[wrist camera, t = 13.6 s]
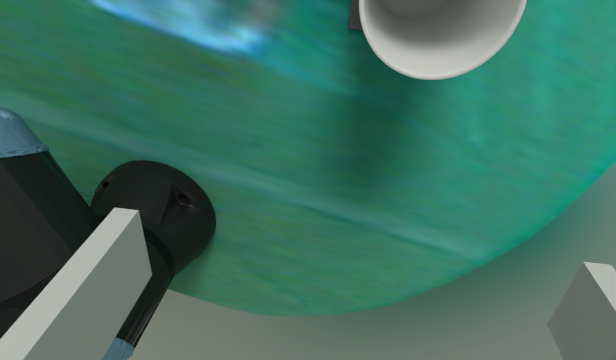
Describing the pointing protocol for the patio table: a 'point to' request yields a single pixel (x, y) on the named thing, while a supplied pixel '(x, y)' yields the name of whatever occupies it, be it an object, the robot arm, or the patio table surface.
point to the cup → (438, 33)
